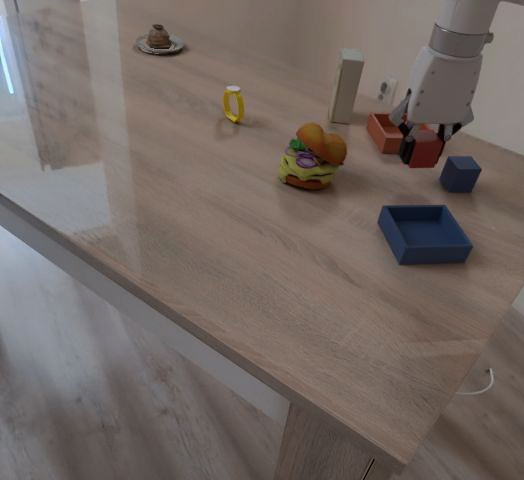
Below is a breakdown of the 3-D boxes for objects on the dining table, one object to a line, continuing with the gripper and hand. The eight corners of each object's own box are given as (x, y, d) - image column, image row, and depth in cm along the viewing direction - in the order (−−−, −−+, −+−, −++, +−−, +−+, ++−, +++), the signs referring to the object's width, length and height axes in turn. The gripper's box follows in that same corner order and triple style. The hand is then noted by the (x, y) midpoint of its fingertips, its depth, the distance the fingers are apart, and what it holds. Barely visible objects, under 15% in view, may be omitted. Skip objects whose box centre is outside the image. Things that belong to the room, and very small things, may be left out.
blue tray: (438, 220, 79) (445, 204, 77) (465, 262, 72) (473, 246, 70) (377, 222, 77) (382, 205, 75) (398, 264, 70) (405, 247, 68)
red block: (424, 154, 85) (433, 129, 81) (434, 168, 82) (443, 142, 79) (400, 155, 84) (408, 129, 81) (409, 168, 81) (417, 142, 78)
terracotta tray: (414, 128, 101) (418, 113, 99) (432, 153, 94) (438, 138, 92) (366, 127, 99) (369, 112, 97) (381, 153, 93) (386, 137, 90)
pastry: (135, 38, 122) (132, 16, 118) (182, 39, 124) (181, 18, 120) (135, 55, 114) (133, 33, 111) (186, 56, 116) (185, 35, 113)
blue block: (461, 179, 89) (471, 156, 85) (471, 192, 86) (482, 169, 82) (438, 179, 88) (448, 155, 85) (448, 192, 85) (458, 169, 82)
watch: (246, 124, 96) (248, 93, 91) (234, 127, 95) (236, 95, 90) (230, 112, 99) (231, 81, 94) (219, 114, 98) (219, 83, 93)
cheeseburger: (265, 165, 85) (284, 108, 79) (315, 172, 90) (336, 119, 84) (287, 195, 79) (309, 136, 73) (339, 201, 84) (364, 146, 78)
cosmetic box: (328, 109, 103) (339, 46, 94) (348, 111, 104) (361, 48, 94) (329, 122, 99) (341, 58, 90) (350, 124, 100) (365, 60, 90)
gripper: (498, 33, 73) (454, 149, 86) (393, 31, 70) (364, 150, 84) (522, 51, 68) (471, 170, 82) (410, 49, 65) (377, 172, 79)
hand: (417, 159), depth 83 cm, fingers closed on red block, 4 cm apart
